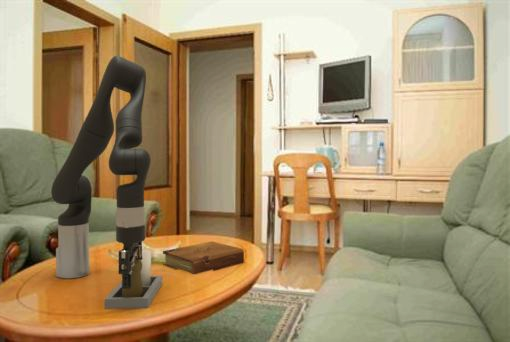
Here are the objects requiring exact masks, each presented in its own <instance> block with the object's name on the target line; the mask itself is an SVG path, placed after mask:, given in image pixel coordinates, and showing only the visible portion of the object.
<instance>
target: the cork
mask: <svg viewBox="0 0 510 342" xmlns="http://www.w3.org/2000/svg"><path fill="white" fill-rule="evenodd" d="M125 269H126V266H125ZM141 270H142V262H141V261H140V260H138V259H136V260H135V265H134V266H133V267H132V273H131V285H132V286H131V288H130V289H123V290H122V297H143V296H144V293H143V286H142V279H141V273H140V271H141Z"/></svg>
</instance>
